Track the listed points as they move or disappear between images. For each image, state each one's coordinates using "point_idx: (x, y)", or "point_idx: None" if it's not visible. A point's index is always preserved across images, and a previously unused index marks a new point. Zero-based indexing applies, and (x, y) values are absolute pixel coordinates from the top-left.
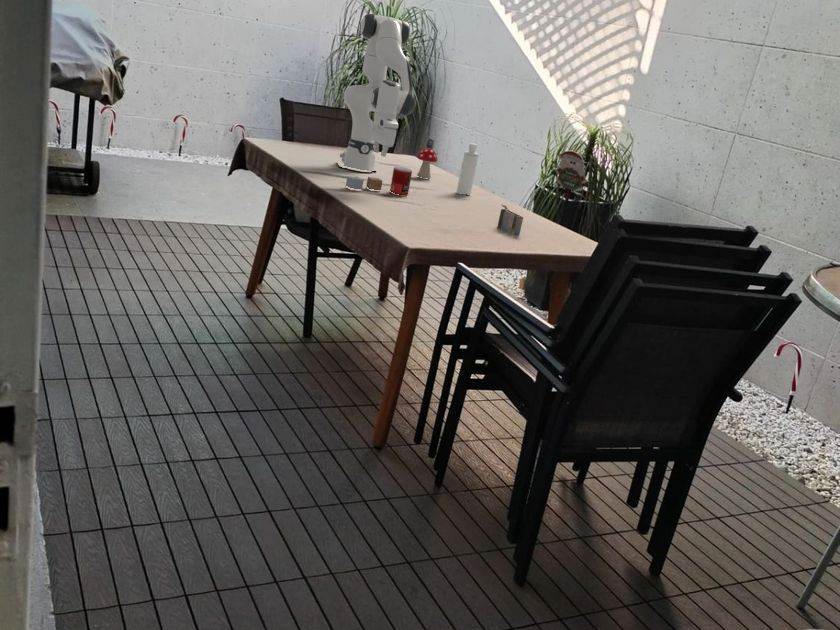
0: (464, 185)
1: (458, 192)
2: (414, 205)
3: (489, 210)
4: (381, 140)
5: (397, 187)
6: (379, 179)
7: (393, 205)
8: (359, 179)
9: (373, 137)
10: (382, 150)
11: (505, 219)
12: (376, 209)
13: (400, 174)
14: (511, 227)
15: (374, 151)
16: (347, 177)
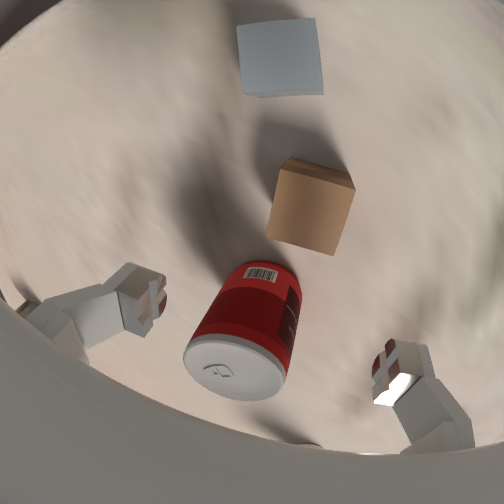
0: None
1: (307, 446)
2: (104, 234)
3: (165, 401)
4: (6, 376)
5: (228, 282)
6: (296, 236)
7: (77, 147)
8: (243, 65)
9: (482, 483)
10: (89, 293)
11: None
12: (38, 74)
13: (201, 325)
14: (26, 307)
15: (404, 341)
16: (309, 20)
